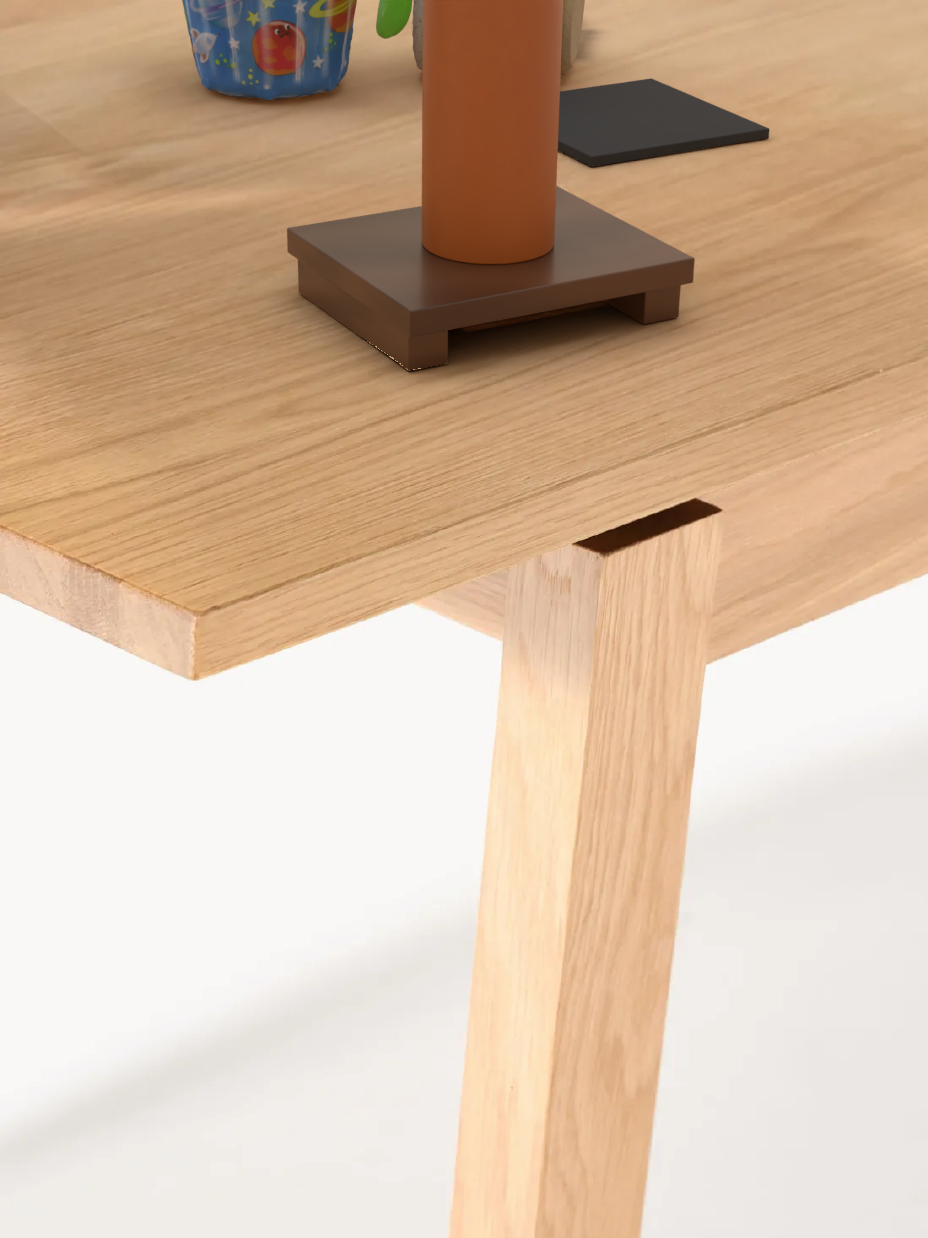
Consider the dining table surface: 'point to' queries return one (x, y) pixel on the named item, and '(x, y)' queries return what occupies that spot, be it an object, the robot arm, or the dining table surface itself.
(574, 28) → the ceramic mug
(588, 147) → the mat
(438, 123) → the spice bottle
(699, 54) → the dining table surface
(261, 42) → the snack cup
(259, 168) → the dining table surface
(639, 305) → the low wooden stand
